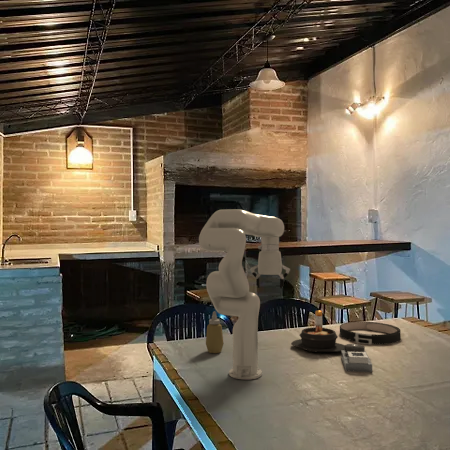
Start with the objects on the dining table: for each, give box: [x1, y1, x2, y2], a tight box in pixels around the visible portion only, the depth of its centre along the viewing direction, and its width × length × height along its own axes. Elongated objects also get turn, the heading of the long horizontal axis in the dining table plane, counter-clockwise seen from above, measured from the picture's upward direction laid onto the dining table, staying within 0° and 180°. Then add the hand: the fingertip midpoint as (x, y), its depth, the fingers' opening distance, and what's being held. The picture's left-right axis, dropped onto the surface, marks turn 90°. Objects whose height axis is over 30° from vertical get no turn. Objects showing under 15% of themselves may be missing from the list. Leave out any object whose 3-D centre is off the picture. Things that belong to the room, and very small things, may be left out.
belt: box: [339, 321, 401, 345], centre depth 230 cm, size 29×30×5 cm
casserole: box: [290, 326, 346, 354], centre depth 208 cm, size 25×19×8 cm
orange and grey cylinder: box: [315, 310, 323, 332], centre depth 208 cm, size 3×3×9 cm
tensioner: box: [340, 343, 373, 373], centre depth 186 cm, size 18×10×7 cm, turn 171°
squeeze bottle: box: [205, 310, 224, 354], centre depth 205 cm, size 8×8×18 cm
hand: (269, 287), depth 200 cm, fingers open, 9 cm apart
